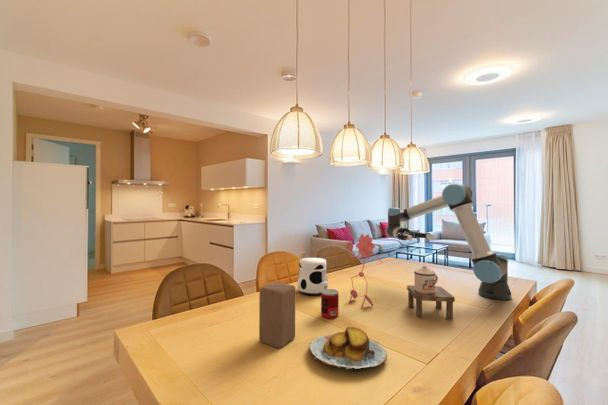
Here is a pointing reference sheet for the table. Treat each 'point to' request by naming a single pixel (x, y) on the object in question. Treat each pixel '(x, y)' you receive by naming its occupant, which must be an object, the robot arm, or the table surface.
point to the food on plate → (348, 349)
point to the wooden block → (277, 314)
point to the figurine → (365, 250)
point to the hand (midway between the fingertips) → (423, 237)
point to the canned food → (329, 303)
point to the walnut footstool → (437, 296)
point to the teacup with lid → (425, 280)
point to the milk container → (312, 276)
